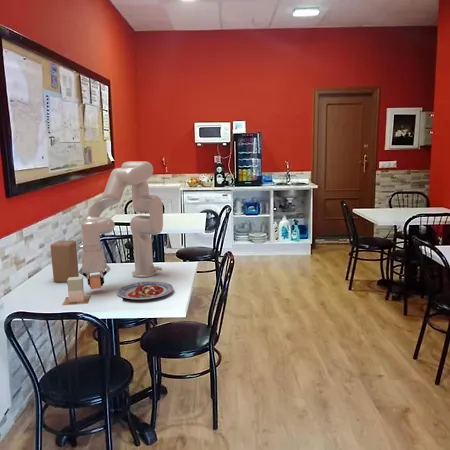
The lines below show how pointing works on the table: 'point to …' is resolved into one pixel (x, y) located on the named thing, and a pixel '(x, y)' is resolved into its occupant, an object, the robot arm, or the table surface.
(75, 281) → the sage green brick
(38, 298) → the table surface
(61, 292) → the table surface
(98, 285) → the terracotta brick
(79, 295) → the cream base brick
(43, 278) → the table surface
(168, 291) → the ceramic plate
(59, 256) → the wooden block
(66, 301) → the walnut board
